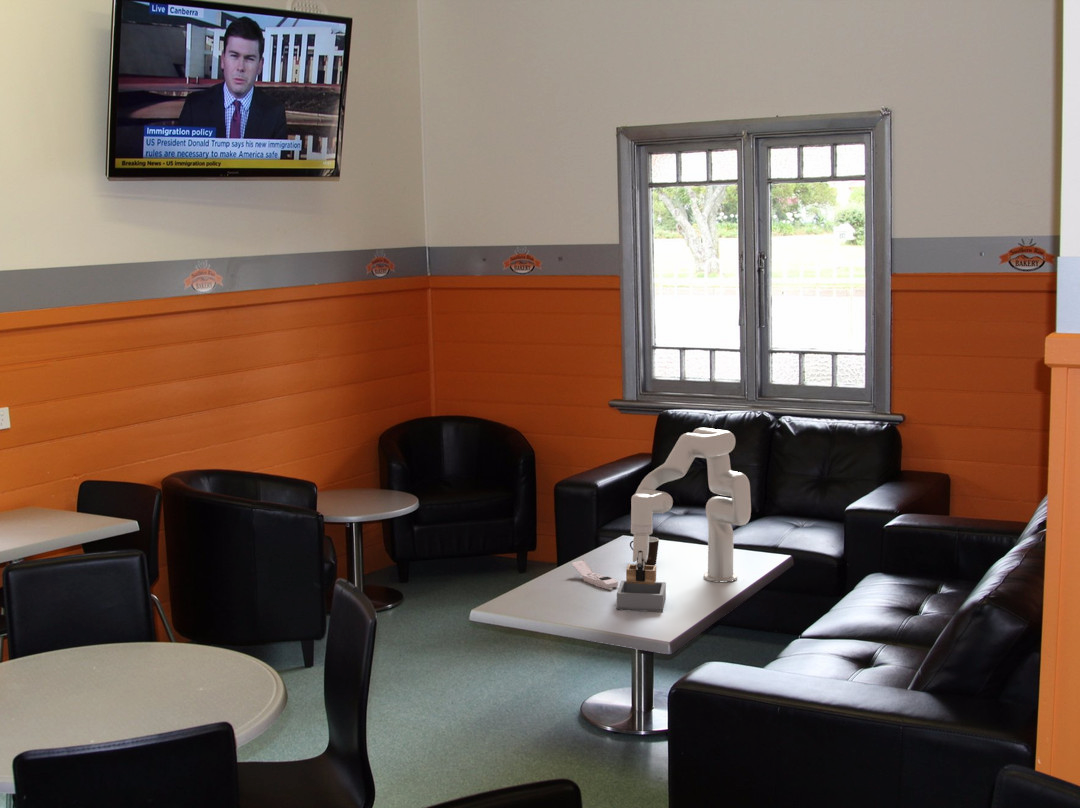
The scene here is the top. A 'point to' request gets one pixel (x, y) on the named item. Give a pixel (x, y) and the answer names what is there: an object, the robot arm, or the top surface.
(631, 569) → the box
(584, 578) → the mobile phone
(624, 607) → the grey open box
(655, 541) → the coffee mug
